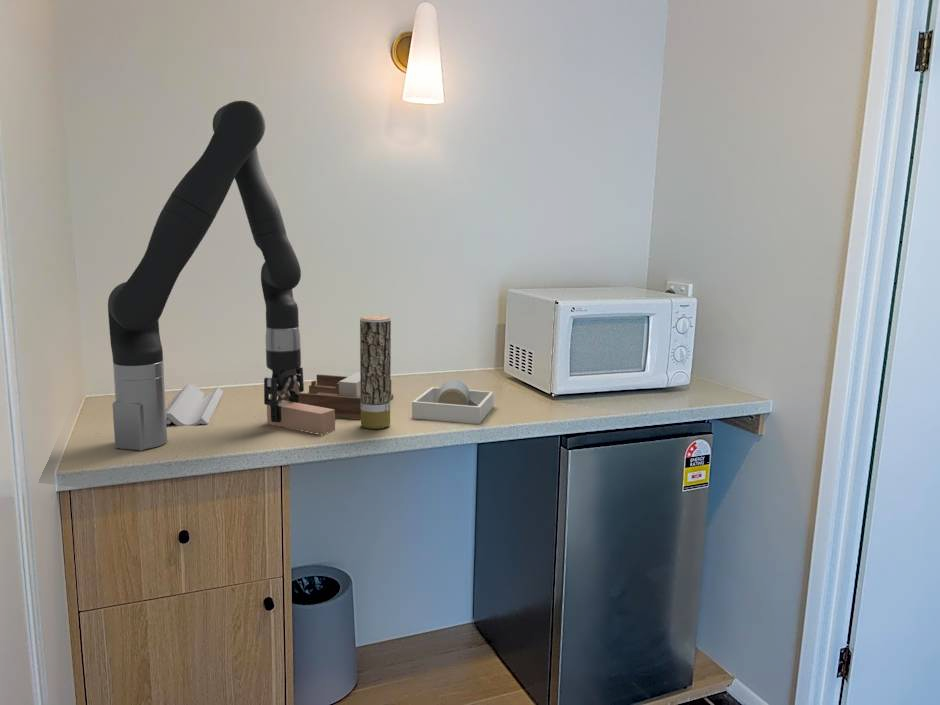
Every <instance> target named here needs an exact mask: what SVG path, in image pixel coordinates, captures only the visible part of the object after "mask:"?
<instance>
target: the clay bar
mask: <svg viewBox="0 0 940 705" xmlns="http://www.w3.org/2000/svg"><path fill="white" fill-rule="evenodd" d="M280 406H281V417H282V420H281V422H279V423H278V422H272V421H271V407H270V405H266V418H267V420H266V421H267V423H266V424H267V425H270V424H272V425H271V426H275V425H277V426H276V427H280V426H283V427H282V428H285V427H288V428H287V429H290V428H293V429H292V430H295V429H297V430H296V431H300V430H303V431H302V432H305V431H308V432H307V433H310V432H312V433H311V434H315V433H318V434H317V435H320V434H323V435H326V434H328V433H327V432H329V433H331V432H334V431H336V417H335V409H329V408H324V407H318V406H312V405H307V404H301V403H296V402H290V401H285V400H282V402H281V405H280ZM333 430H334V431H333ZM330 431H331V432H330ZM325 433H326V434H325Z"/></svg>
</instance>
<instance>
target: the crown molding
mask: <svg viewBox="0 0 940 705" xmlns="http://www.w3.org/2000/svg"><path fill="white" fill-rule="evenodd" d="M204 392H205V391H202V390H200V388H199V387H197V386H196V385H195V384H194V383H193V382H188V383H187V384H186V385H185V386H184V387H183V388H182V389H181V390H180V391H179V392H178V393H177V394H175V396H174V397H175V398H172V400H171V401H172V402H171V401H170V402H169V404H168V405H167V406H166V425H170V424H171V423H173V424H175V425H176V426H178V425H189V426H198V425H200V424H201V425H208V424H209V421H210V420H211V418H212V416H213V415H214V412H215V410H216V408H217V406H218V405H219V402H220V400H221V398H222V396H223V394H224V391H223V390H222V389H221V388H220V387H219V386H217V388H215V389H214V390H212V391H210V393H209V392H208V393H209V395H207V396H206V398H205V397H204V398H203V396H204ZM178 427H179V426H178Z"/></svg>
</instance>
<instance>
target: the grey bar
mask: <svg viewBox="0 0 940 705" xmlns="http://www.w3.org/2000/svg"><path fill="white" fill-rule="evenodd" d="M346 377H347V378H345V379H343V380H341V381H339V396H346V397H359V398H360V370H359V371H357V372H354V373H353V374H351V375H349V376H346Z"/></svg>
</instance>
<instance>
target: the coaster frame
mask: <svg viewBox="0 0 940 705" xmlns="http://www.w3.org/2000/svg"><path fill="white" fill-rule="evenodd" d="M440 388H441V387H436V386H435V387H434V386H431V387H429V388H428V389H427V390H426V391H424V392H423V393H422V394H421V395H419V396H418V397H417V398H416V399H414V400H413V401H411V419H417V420H418V419H419V420H430V421H432V420H433V421H440V420H441V421H442V422H451V421H454V422H455V423H463V422H469V423H468V424H475V423H478V425H480V424H482V422H483V420H484V419H485V418H486V417H487V415H488V414H490V412H491V411H492V409H494V404H495V402H494V401H495V400H494V399H495V398H494V397H495V392H494V391H488V390H487V391H486V390H475V389H474V390H473V389H468V390H469V393H470V397H469V399H470V400H472V401H474V402H475V403H477V404H478V406H469V405H468V406H467V405H455V404H443V403H438V397H439V392H440ZM481 421H482V422H481Z"/></svg>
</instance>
